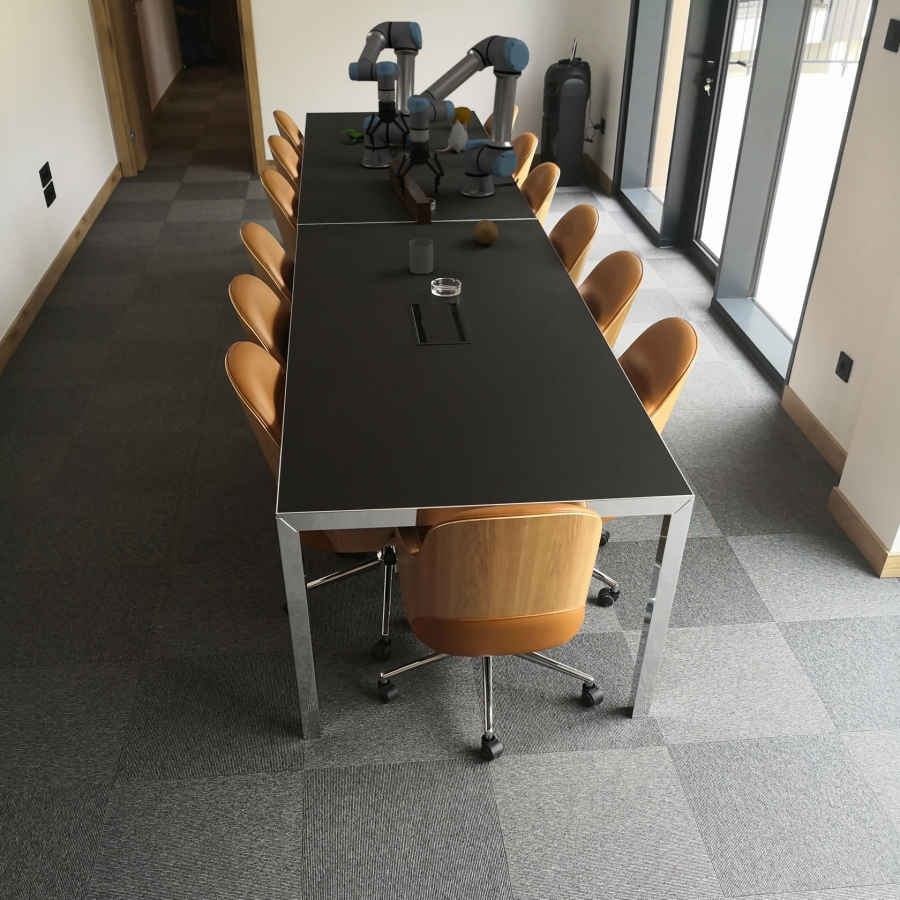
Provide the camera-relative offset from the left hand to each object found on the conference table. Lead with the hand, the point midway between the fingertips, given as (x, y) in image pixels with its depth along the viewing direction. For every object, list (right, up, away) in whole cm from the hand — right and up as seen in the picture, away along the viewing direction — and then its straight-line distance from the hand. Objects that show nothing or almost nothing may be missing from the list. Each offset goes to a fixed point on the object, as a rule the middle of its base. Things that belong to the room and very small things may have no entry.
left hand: (388, 150), depth 389 cm
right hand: (+15, -30, -36) cm, 50 cm away
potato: (+41, -55, -56) cm, 89 cm away
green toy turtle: (-17, +32, +79) cm, 87 cm away
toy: (+28, +19, +59) cm, 68 cm away
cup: (+17, -70, -81) cm, 108 cm away
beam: (+10, -26, -10) cm, 29 cm away
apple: (+34, +47, +102) cm, 117 cm away
